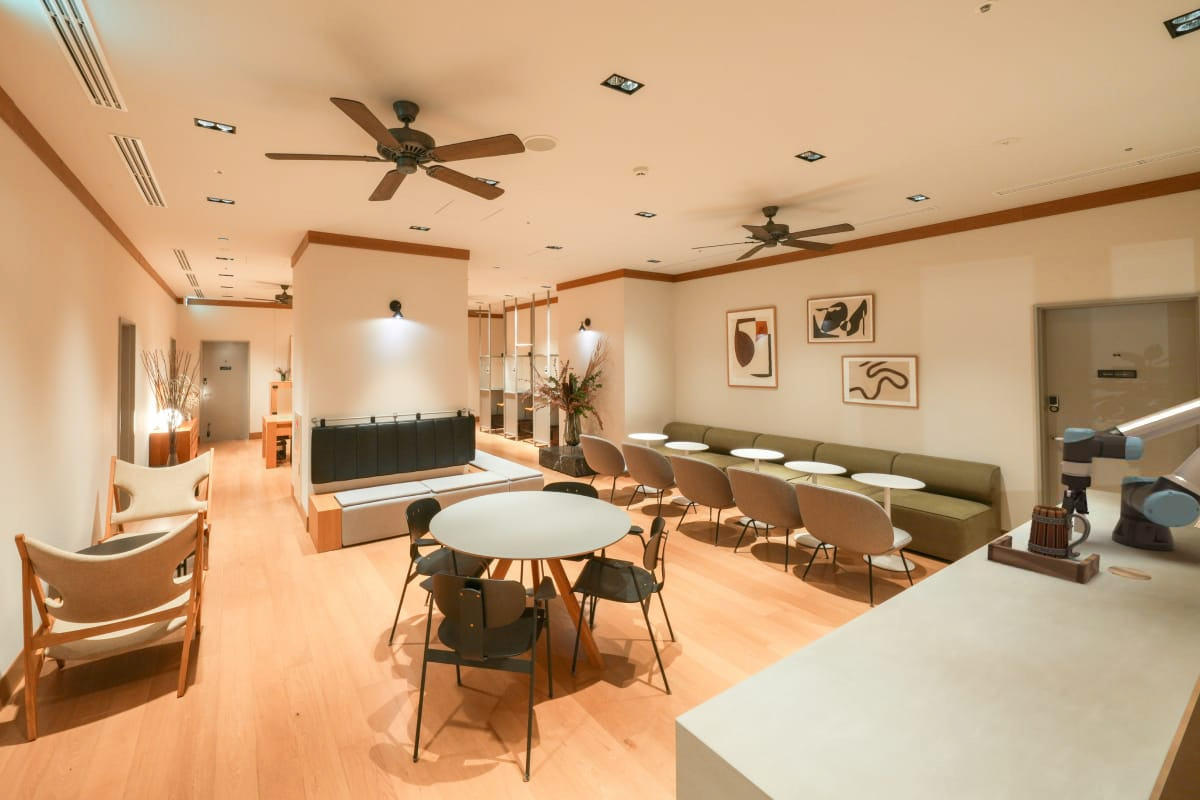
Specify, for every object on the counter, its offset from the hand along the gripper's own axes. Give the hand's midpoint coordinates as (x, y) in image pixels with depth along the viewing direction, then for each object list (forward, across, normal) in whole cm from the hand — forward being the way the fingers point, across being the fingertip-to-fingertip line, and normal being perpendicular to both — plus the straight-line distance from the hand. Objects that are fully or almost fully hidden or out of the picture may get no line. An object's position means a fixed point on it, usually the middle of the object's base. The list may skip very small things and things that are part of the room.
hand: (1072, 536), depth 180 cm
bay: (+3, +30, 0) cm, 30 cm away
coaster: (+4, +18, +17) cm, 25 cm away
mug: (+4, +16, 0) cm, 16 cm away
